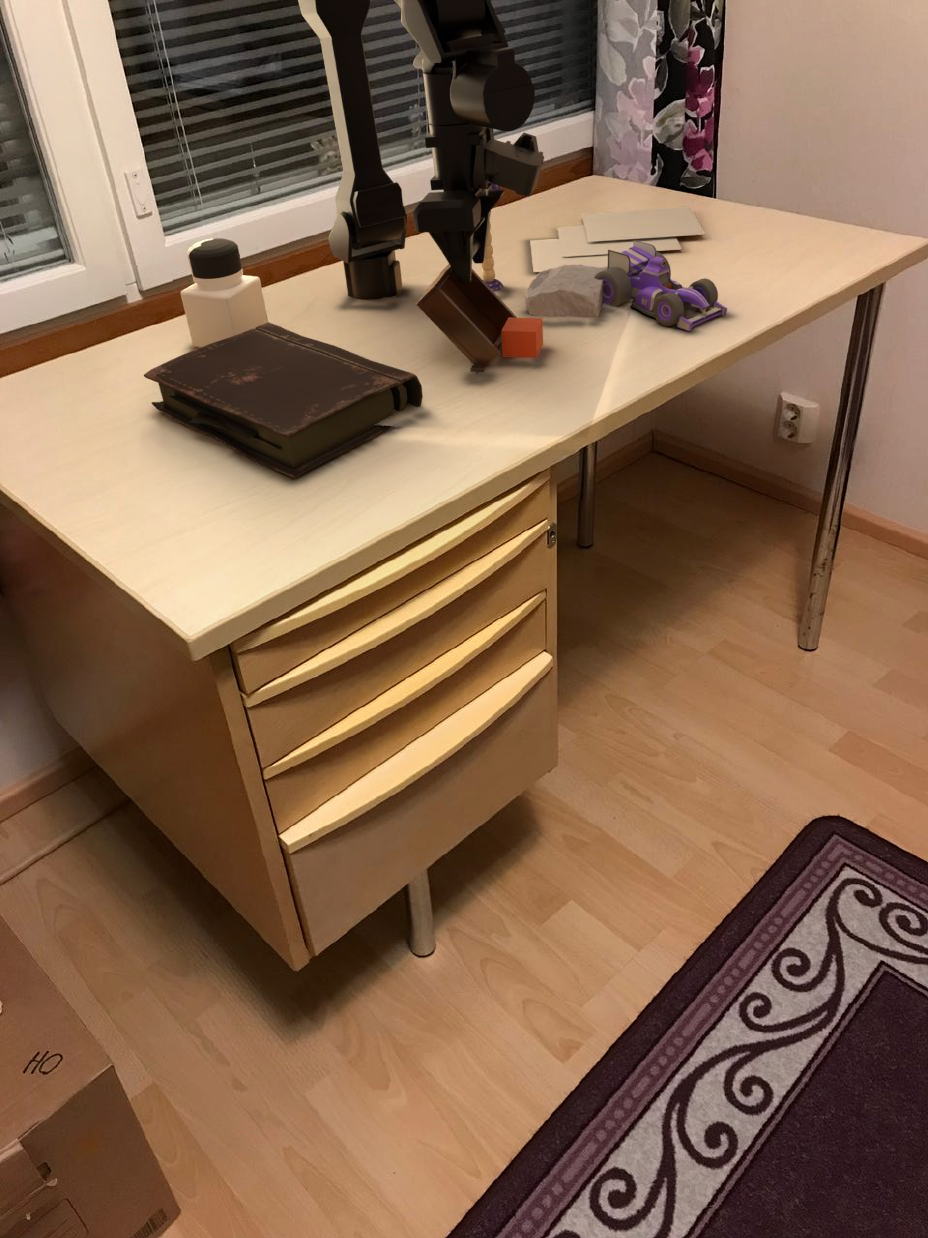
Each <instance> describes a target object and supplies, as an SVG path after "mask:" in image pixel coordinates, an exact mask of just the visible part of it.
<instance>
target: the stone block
mask: <svg viewBox="0 0 928 1238" xmlns="http://www.w3.org/2000/svg"><path fill="white" fill-rule="evenodd" d="M606 269H608V267H607V266H605V267H594V266H585V265H582V264H581V265H562V266H559V267H557V268H550V269H548V270H544V271H542V272H537V274H536V277H535V278H534V279H533V280H532V281H531V283H530V284H529V285H528V288H527V291H526V292H525V293H524V294H525V295H524V298H525V309H526V310H527V313H528V315H530V316H532V317H542V318H543V317H546V318H558V317H560V318H564V317H572V318H597V317H599V316H600V313H601V310H602V306H603V303H604V302H603V293H604V282H603V280H598V279H595V278H594V277H595V275H596V274H597V273H599V272H601V271H603V270H606Z"/></svg>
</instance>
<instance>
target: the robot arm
mask: <svg viewBox="0 0 928 1238" xmlns="http://www.w3.org/2000/svg"><path fill="white" fill-rule="evenodd" d="M297 1H298V5H299V9H300V13H301V15H302V17H303V18H304V20H305V21H306V22H307V24H308V25H309V26H310V27H311V29H312V30H313V32H314V33H315V34H316V36H317V37H318V38H319V42H320V45H321V46H320V47H321V52H322V57H323V63H324V68H325V75H326V80H327V86H328V91H329V97H330V104H331V108H332V109H331V110H332V116H333V120H334V126H335V132H336V137H337V142H338V148H339V155H340V159H341V165H342V172H343V173H342V176H341V179H340V182H339V185H338V188H337V192H336V194H335V198H334V200H335V201H334V202H335V208H336V209H335V210H336V217H335V219H334V221H333V225H332V227H331V230H330V233H329V235H328V238H327V240H328V243H329V248H330V251H331V255H332V256H333V257H335V258H337V259H339V260H341V261H342V262H343V270H344V277H345V283H346V284H345V285H346V290H347V296H348V297H354V298H355V299H358V300H362V301H363V300H364V301H373V300H381V299H384V298H393V297H398V296H399V295H400V294H401V292H402V291H403V288H404V287H403V279H402V270H401V262H400V261H399V260H398V259H397V258H396V257H397V256H396V251H398V250H404V249H405V248H406V236H407V222H408V215H407V212H406V208H405V205H404V201H403V190H402V187H401V185H400V184H399V182H394V181H393V180H392V179H391V177H390V176H389V175H388V173H387V172H386V170H385V169H384V168H383V161H382V156H381V155H382V154H381V149H380V143H379V137H378V130H377V123H376V118H375V111H374V104H373V98H372V93H371V86H370V80H369V73H368V68H367V67H368V66H367V60H366V54H365V53H366V52H365V47H364V40H363V29H364V27H365V24H366V20H367V18H368V14H369V11H370V8H371V5H372V0H297ZM393 1H394V2H395V3H396V5H398V6H399V8H400V13H401V14H400V23H401V25H402V26H403V28H405V29H406V31H407V33H408V34H409V35H410V36H411V37H412V38H413V40H414V41H415V42H416V43H417V45H418V47H419V48H420V51H419V52H418V53H417V54H416V56H415V57H414V60H413V62H412V65H413V68H414V69H418V70H422V77H423V83H424V84H423V86H424V93H425V102H426V111H427V119H428V127H429V133H428V134H427V135H426V136H425V137H424V142H425V149H431V153H432V161H433V170H434V175H433V177H431V178H430V179H429V183H430V191H433V192H427V194H426V195H425V196H424V197H423V198H422V199H421V200H420V202H419V203H418V204H417V205H416V206H415V208H414V210H413V211H412V219H413V224H414V225H413V226H414V231H415V232H417V233H427V234H429V235H430V237H431V239H432V240H433V241H434V243H435V245H436V246H437V247H438V249H439V250H440V252H441V254H442V255H443V256H444V258H445V260H446V261H447V263H448V264H449V265H450V266H451V268H452V270H453V271H454V273H455V274H456V276H457V278H458V279H459V281H460V283H470V281H471V272H472V269H473V263H474V264H480V265H481V263H483V262H484V258H485V251H486V243H487V236H488V228H489V221H490V220H491V215H492V210H493V208H494V207H495V206H496V204H497V203H498V202H499V200H501V198H502V197H503V195H504V194H505V191H506V190H505V189H507V190H511V191H513V192H515V194H517V195H519V196H523V197H530V196H532V194H533V192H534V190H535V189H536V188H537V186H538V182H539V179H540V175H541V172H542V168H543V166H544V161H545V156H544V152H543V151H539V146H538V139H537V136H536V135H533V134H530V133H528V132H522V134H521V135H519V137H518V138H517V139H516V140H515V142H514V143H512V141H510V140H506V141H505V142H504V141H501V140H497V139H495V135H494V130H496V131H501V132H513V131H516V130H517V129H520V128H521V127H522V126H523V125H524V124H525V123H526V122H527V120H528V119H529V118H530V116H531V114H532V112H533V108H534V104H535V99H536V89H535V85H534V84H533V81H532V77H531V76H530V74H529V73H528V71H527V70H526V68H524V66H522V65H520V64H518V63H517V62H516V57H515V56H516V55H515V49H514V48H513V47H509V43H508V41H507V38H506V36H505V33H506V29H505V27H504V25H503V24H502V22H501V20H500V19H499V17H498V15H497V13H496V10H495V8H494V6H493V4H492V1H491V0H393ZM488 182H490V184H488ZM491 183H492V184H495V185H498V186H500V189H497V190H492V184H491ZM502 188H505V189H502ZM490 222H491V221H490ZM473 237H475V238H477V239H478V240H479V241H480V249H479V250H478V251H477V253H476V254H475V256H474V257H473V258H472V252H473Z"/></svg>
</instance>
